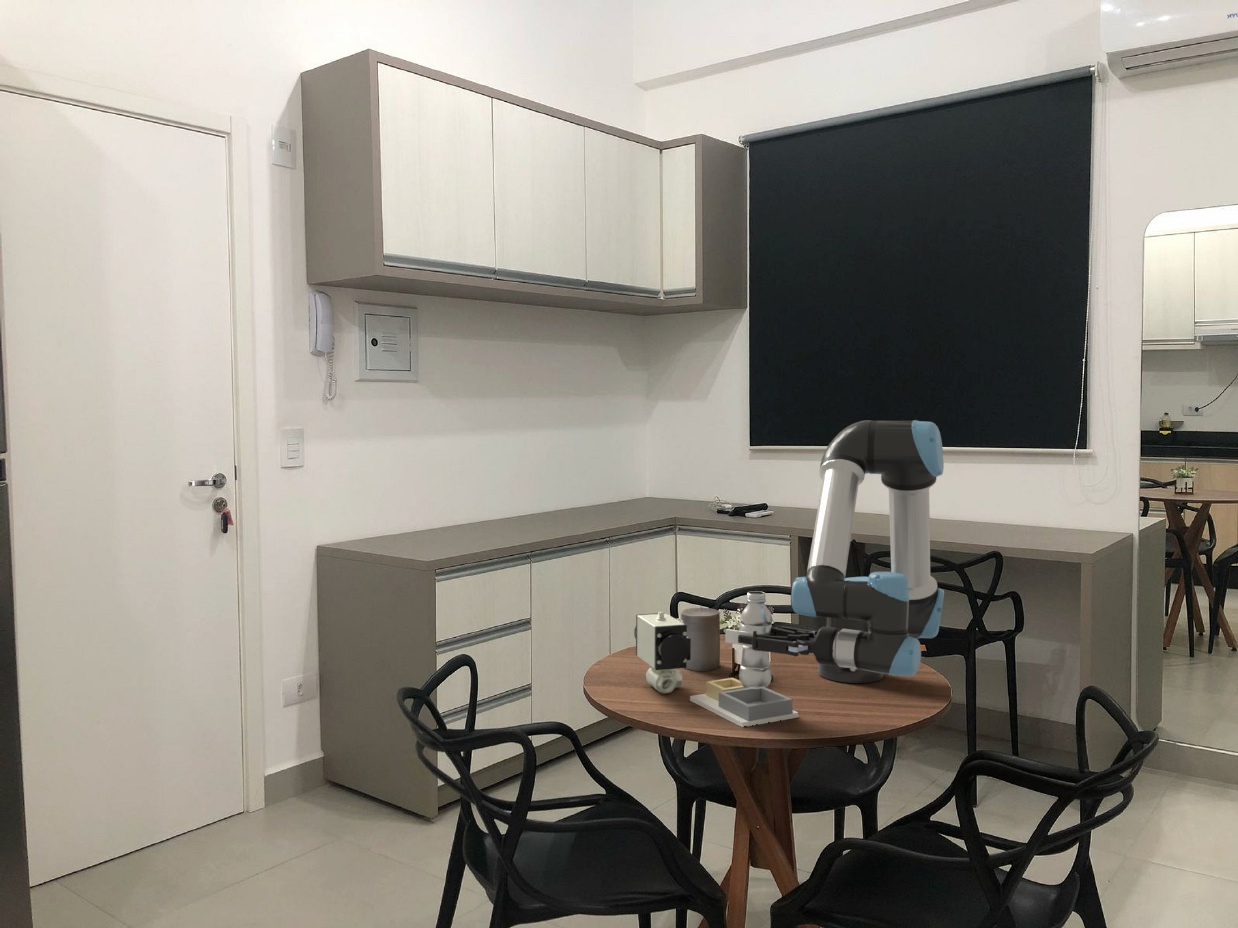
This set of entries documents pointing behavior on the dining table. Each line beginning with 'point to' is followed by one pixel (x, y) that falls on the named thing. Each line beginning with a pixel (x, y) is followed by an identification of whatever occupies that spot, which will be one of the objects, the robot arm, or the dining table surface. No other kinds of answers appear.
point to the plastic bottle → (753, 661)
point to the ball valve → (662, 649)
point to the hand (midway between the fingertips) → (733, 632)
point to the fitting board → (744, 703)
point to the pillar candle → (703, 638)
